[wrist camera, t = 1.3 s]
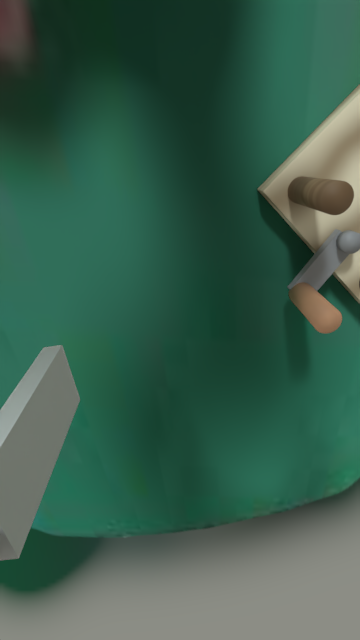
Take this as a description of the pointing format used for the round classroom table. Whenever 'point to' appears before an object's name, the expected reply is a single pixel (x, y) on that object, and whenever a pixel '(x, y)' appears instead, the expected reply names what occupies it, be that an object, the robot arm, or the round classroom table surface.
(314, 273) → the crank handle
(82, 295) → the round classroom table surface
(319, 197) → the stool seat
